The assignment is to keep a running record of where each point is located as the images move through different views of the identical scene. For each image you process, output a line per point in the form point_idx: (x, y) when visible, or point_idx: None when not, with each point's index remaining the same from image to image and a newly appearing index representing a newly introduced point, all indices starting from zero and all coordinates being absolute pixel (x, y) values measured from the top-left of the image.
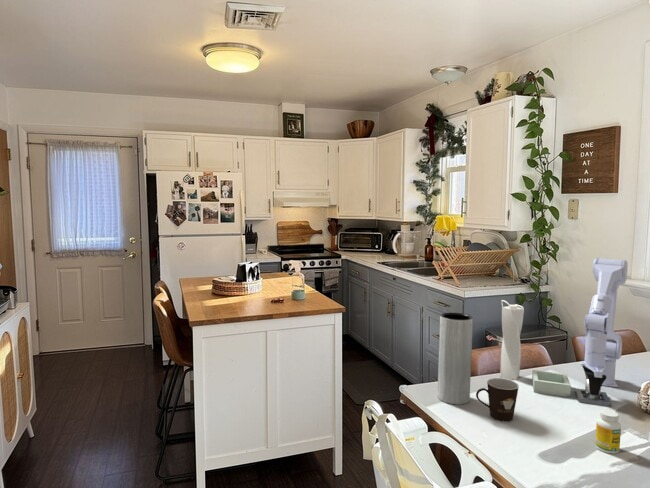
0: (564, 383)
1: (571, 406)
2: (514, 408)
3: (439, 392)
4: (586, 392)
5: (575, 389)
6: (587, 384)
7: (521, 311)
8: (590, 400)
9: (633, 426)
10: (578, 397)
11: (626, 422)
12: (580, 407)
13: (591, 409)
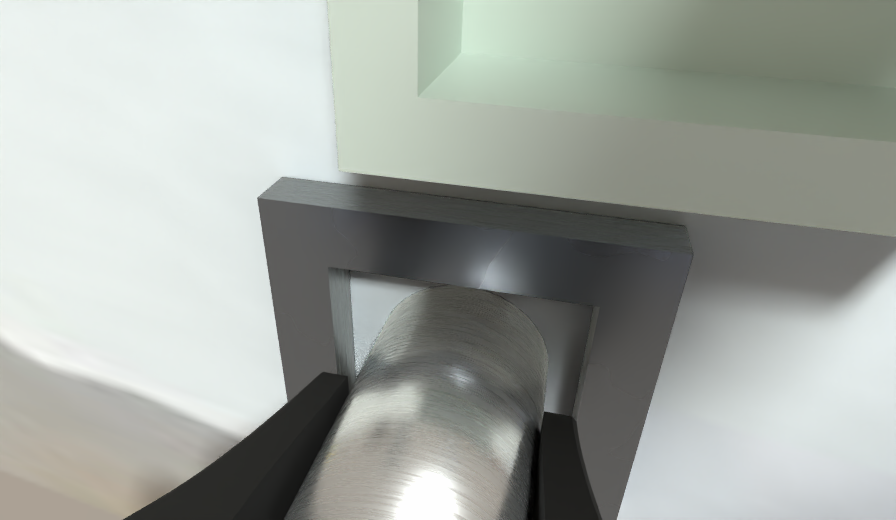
0: (409, 57)
1: (86, 45)
2: None
3: None
4: (399, 346)
5: (627, 246)
6: (341, 447)
7: None
8: (276, 315)
9: (12, 437)
10: (301, 201)
11: (49, 423)
12: (125, 153)
13: (143, 255)
